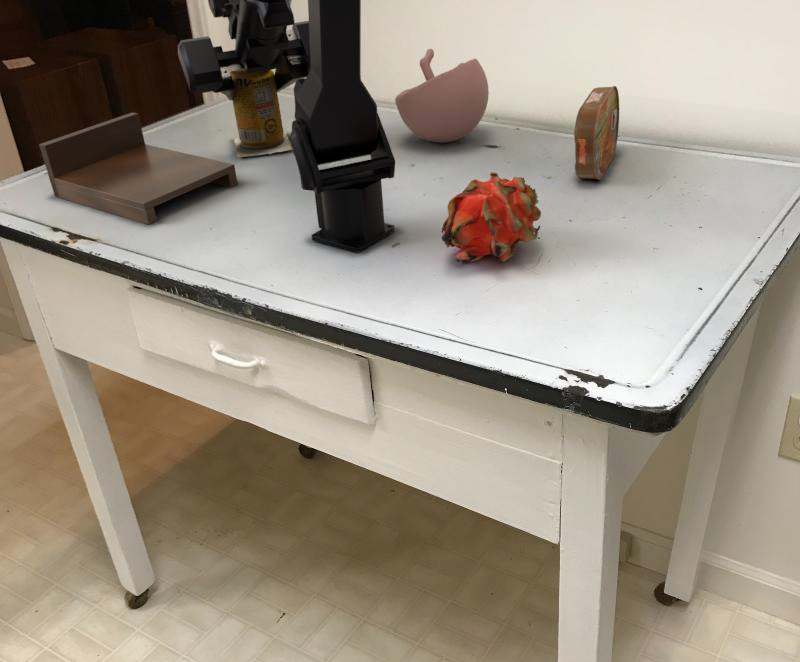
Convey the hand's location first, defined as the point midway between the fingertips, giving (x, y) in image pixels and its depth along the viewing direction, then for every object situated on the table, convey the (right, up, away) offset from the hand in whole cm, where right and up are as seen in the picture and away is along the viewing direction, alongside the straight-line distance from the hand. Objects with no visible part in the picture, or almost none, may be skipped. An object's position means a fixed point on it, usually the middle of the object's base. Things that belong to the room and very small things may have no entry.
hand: (253, 93), depth 114 cm
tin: (+43, -13, -11) cm, 46 cm away
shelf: (-12, -15, -9) cm, 21 cm away
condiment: (+1, -6, +3) cm, 7 cm away
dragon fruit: (+28, -27, -29) cm, 49 cm away
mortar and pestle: (+25, -6, 0) cm, 26 cm away
